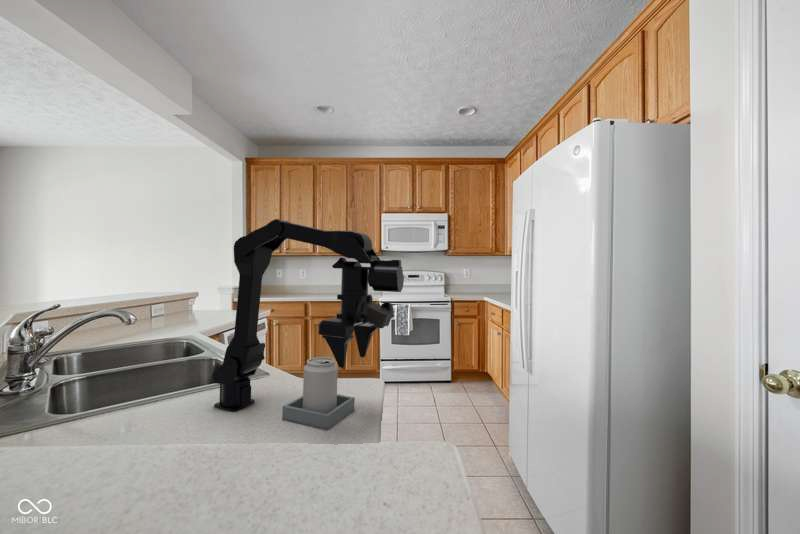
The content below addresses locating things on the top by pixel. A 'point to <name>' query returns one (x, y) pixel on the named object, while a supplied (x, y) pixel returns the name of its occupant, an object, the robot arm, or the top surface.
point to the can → (320, 385)
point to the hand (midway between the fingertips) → (352, 362)
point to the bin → (316, 419)
